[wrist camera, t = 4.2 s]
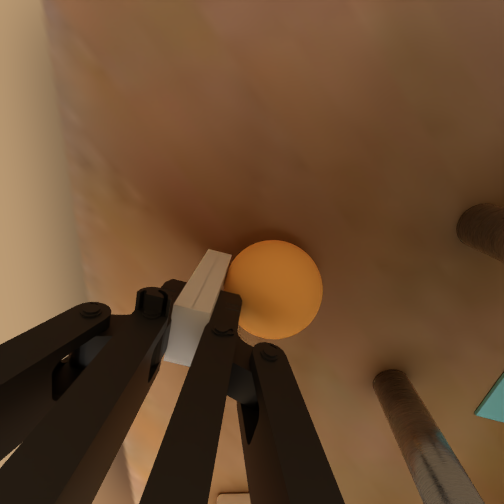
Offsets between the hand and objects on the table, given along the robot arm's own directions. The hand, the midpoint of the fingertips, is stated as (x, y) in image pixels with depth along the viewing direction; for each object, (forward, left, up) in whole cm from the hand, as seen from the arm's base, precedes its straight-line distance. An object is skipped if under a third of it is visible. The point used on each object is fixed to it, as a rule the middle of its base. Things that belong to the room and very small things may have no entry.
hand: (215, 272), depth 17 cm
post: (-14, +6, -2) cm, 16 cm away
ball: (-3, -1, +1) cm, 4 cm away
